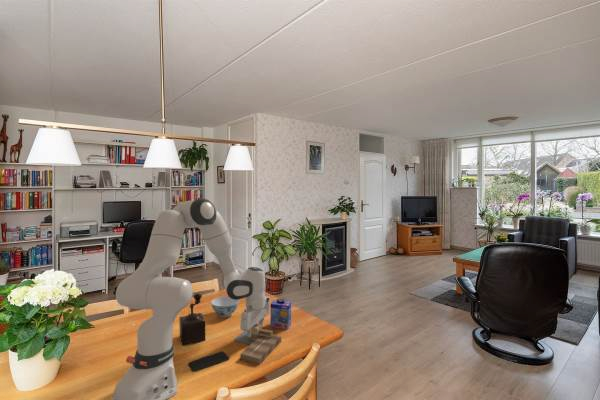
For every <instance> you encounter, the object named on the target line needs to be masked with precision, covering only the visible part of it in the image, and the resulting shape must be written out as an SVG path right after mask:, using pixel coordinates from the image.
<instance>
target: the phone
mask: <svg viewBox="0 0 600 400" xmlns="http://www.w3.org/2000/svg"><path fill="white" fill-rule="evenodd" d="M228 361H230V357H229V356H228V354H226V352H225V351H222V350H221V351H218V352H215V353H212V354H209V355H206V356H203V357H200V358H196V359H194V360H191V361H188V363H187V365H188V367H189V368H190V371H191V372H193V373H195V372H199V371H201V370H205V369H208V368H210V367H213V366H215V365H219V364H222V363H224V362H228Z"/></svg>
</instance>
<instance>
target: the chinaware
mask: <svg viewBox="0 0 600 400" xmlns="http://www.w3.org/2000/svg"><path fill="white" fill-rule="evenodd" d="M210 304H211V307H212V310H213V311H214V312H215V313H216V314H217V315H218V316H219V317H220V318H228V317H231V316H232V315H233V313H235V311H237V308H238V306H239V304H240V299H238V300H234V299H231V298H230V297H229V296H228V295H226V296H225V295H224V296H218V297H216V298H214V299H212V300H211V303H210Z"/></svg>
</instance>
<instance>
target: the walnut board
mask: <svg viewBox="0 0 600 400" xmlns="http://www.w3.org/2000/svg"><path fill="white" fill-rule="evenodd" d="M281 342H282V335H277V334H274V333H272V335H271V336H268V335H263V334H262V335H261V336H260V337H258V338H257V339H256V340H255V341H254V342H253V343H252V344H251V345H250V344H249V345H248V346H247V347H245V349H244V350H243V351H242V352H240V355H239V356H240V357H239V358H240V359H239V360H240V361H243V362H248V363H251V364H255V365H259V366H260V365H261V364H262V363H264V361H265V360H266V359H267V358H268V357H269V355H270V354H271V353H273V351H274V350H275V349H276V348H277V347H278V346H279V344H280V343H281Z"/></svg>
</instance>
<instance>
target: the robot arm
mask: <svg viewBox="0 0 600 400" xmlns="http://www.w3.org/2000/svg"><path fill="white" fill-rule="evenodd" d="M190 228H191V229H194V228H198V230H200V233H201V235H202V238H203V241H204V243H205V245H206V247H207V249H208V251H209V252H210V254H212V255H214V257H216V259H217V261H218V264H219V267H220V270H221V272H222V286H223V288H224V290H225V292H226V294H227V296H229V297H230V298H231V299H234V300H238V299H239V300H241V299H245V307H246V308H245V309H243V312H242V313H241V316H240V317H241V318H240V329H241V331H243V332H244V331H247V336H248V337H251V336H252V332H251V328H252V327H253V326H254V325H256V324H260V325H262V328H263V327H264V325H263V324H264V321H265V318H266V317H267V316H268V315H269V312H270V301H271V297H270V296H268V295H267V296H266V294H265V289H266V275H265V274H266V273H265V271H264V270H263V269H261V268H259V267H257V266H250V267H248V268H247V269H245V270H244V271H243V272H240V271H239V270H238V269H237V268H236V266H235V263H234V261H233V258H232V255H231V248H232V237H231V234H230V231H229V228H228V225H227V224H226V221H225V220H224V218H223V216H222V215H221V213H220V212H219V211H218V210H216V207H215V205H214V204H213V202H211V201H210V200H209V199H206V198H197V199H193V200H186V201H184V202H181V203H177V204H174V205H173V206H171V208H170V209H166V210H162V211H160V212H159V214H158V215H157V217H156V219H155V222H154V224H153V226H152V230H151V235H150V237H149V242H148V245H147V249H146V252H145V255H144V258H143V259H142V262H141V263H140V264H139V265H138V267H137V268H136V269H135V270H134V272H132V273H131V274H130V275H129V276H126V278H123V279H122V280H121V281H120V282H119V284H118V286H117V288H116V290H115V298H116V302H117V303H118V304H119V305H120V306H122V307H125V308H129V309H132V310H133V309H134V310H135V309H136V310H151V311H152V316H150V317H149V318H148V319H145V320H144V321H143V322H141V324H140V325H139V327H138V329H137V334H136V336H137V337H136V338H137V342H136V343H137V345H136V346H137V347H136V348H137V349H136V350H135V355H134V356H132V355H128V356H126V359H125V362H126V363H128V364H131V366H130V367H128V368H129V369H128V370H127V371H126V372H125V373H124V374H123V376H122V377H121V379H120V380H119V381H118V383H117V384H116V385H115V387H114V393H113V397H112V398H110V399H109V400H166V399H167V400H169V399H170V398H172V397H173V396H175V395H176V394H177V393H178V387H177V386H178V378H177V376H176V375H177V374H176V371H175V365H174V354H175V353H174V352H175V346H174V345H175V344H174V342H173V335H174V334H173V331H174V324H175V320H176V318H177V316H178V315H179V313H180V312H181V311H182V310H184V309H185V308H186V307H188V305H189V304H191V303H190V302H191V301H192V299H193V296H194V292H193V291H194V290H193V286H192V283H191V282H190V281H189V280H187V279H184V278H179V277H175V276H173V277H172V276H162V274H163V273H164V271H165V270H167V269H169V268H170V267H172V266H174V265H175V264H176V263H177V262H178V260H179V259H180V254H181V250H182V243H183V239H184V232H185V230H186V229H190ZM168 398H169V399H168Z"/></svg>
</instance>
